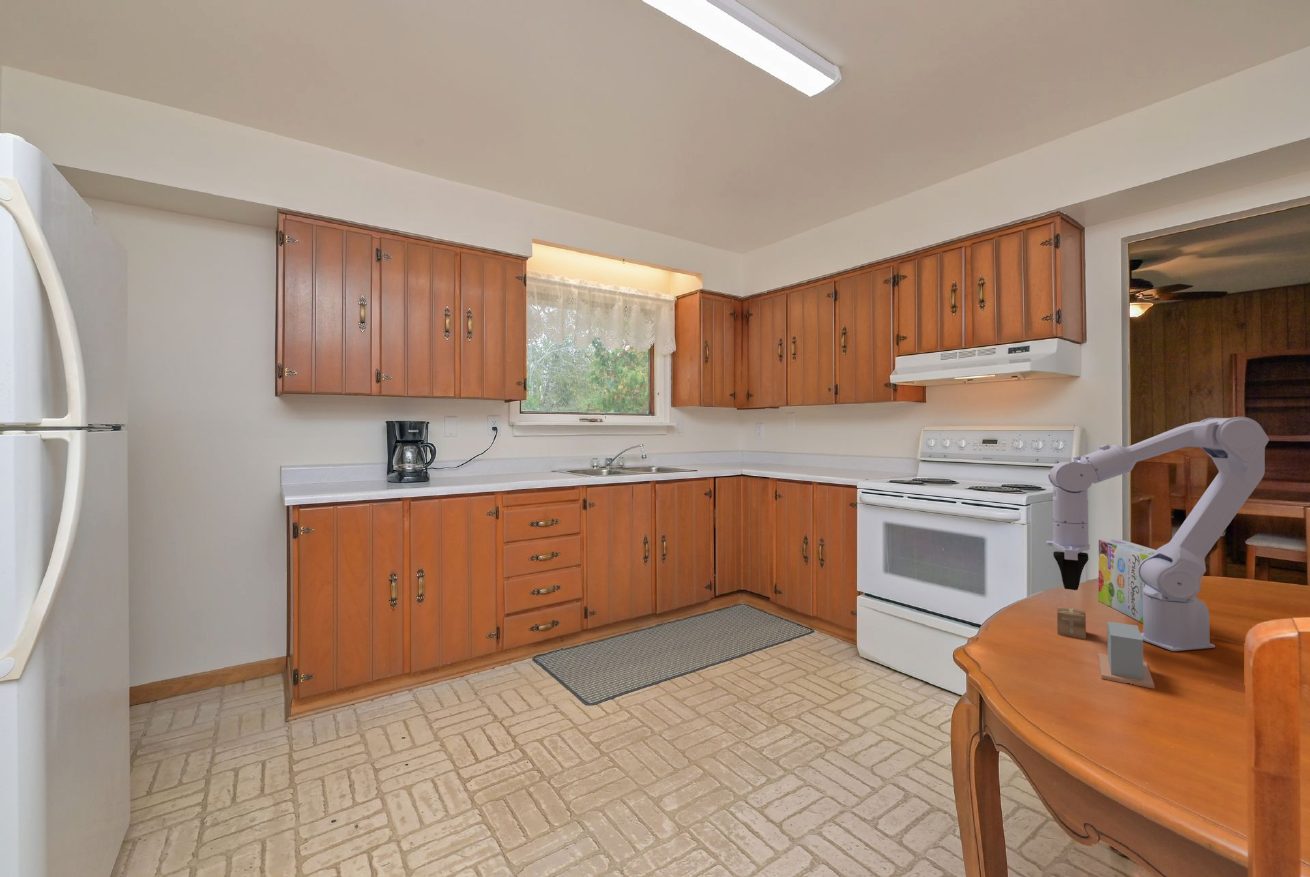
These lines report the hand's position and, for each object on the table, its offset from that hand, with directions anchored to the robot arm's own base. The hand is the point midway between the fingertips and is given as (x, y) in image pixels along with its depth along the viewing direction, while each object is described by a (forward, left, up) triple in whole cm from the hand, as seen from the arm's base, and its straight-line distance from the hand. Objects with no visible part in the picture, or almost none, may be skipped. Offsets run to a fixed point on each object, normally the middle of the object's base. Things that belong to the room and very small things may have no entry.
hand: (1070, 588), depth 112 cm
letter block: (0, 0, -9) cm, 9 cm away
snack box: (-23, -6, -9) cm, 25 cm away
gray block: (+7, +17, -8) cm, 21 cm away
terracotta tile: (+7, +17, -9) cm, 20 cm away
